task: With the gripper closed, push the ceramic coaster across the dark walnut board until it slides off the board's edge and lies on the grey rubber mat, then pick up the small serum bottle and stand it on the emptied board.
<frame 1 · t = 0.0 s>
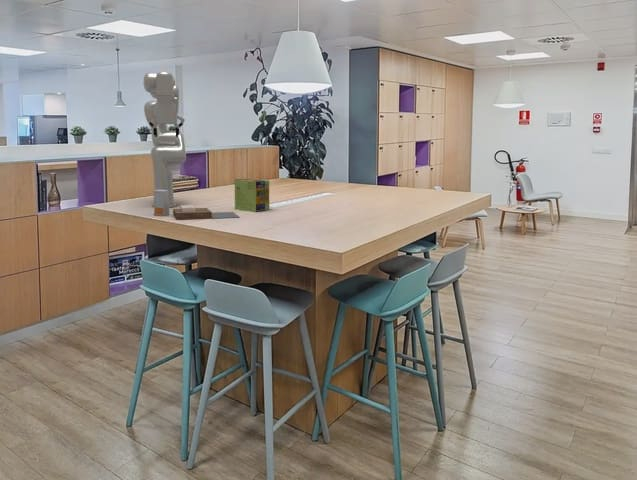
hand: (166, 136, 265), 37 cm above the table, tool pointing down, fingers open, 9 cm apart
protein box: (252, 210, 289), on the table
skincare box: (161, 215, 266), on the table
board: (192, 216, 262), on the table
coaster: (187, 210, 261), point 3 cm above the table, touching board
mat: (222, 215, 268), on the table
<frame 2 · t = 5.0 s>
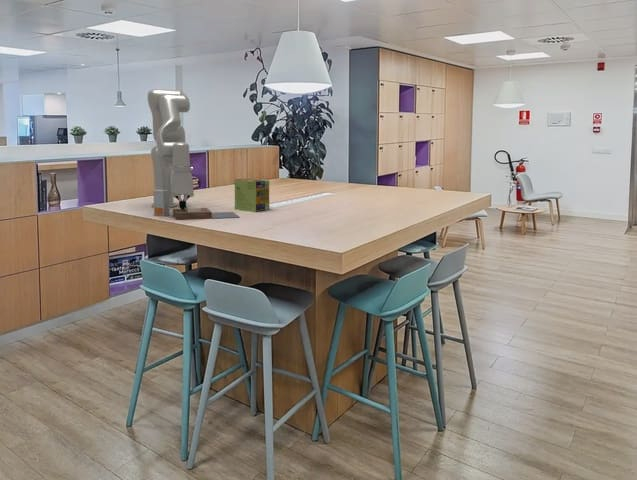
hand: (182, 209, 260), 4 cm above the table, tool pointing down, fingers closed
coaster: (192, 210, 262), point 3 cm above the table, touching board, gripper
everything else where it was.
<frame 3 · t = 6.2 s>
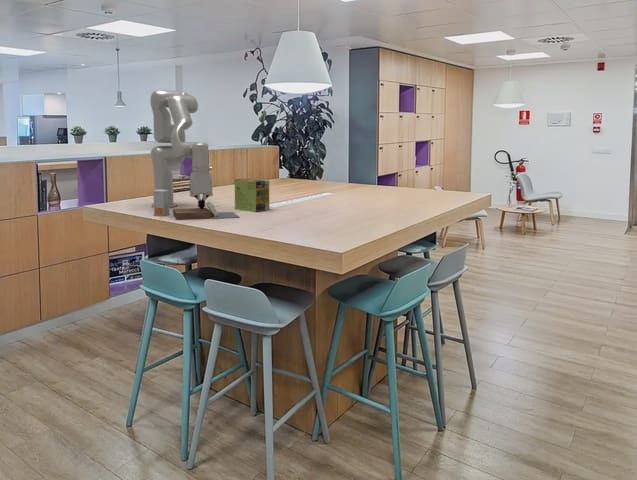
hand: (201, 208, 263), 4 cm above the table, tool pointing down, fingers closed
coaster: (210, 209, 265), point 3 cm above the table, tilted 62°, touching mat
everything else where it was.
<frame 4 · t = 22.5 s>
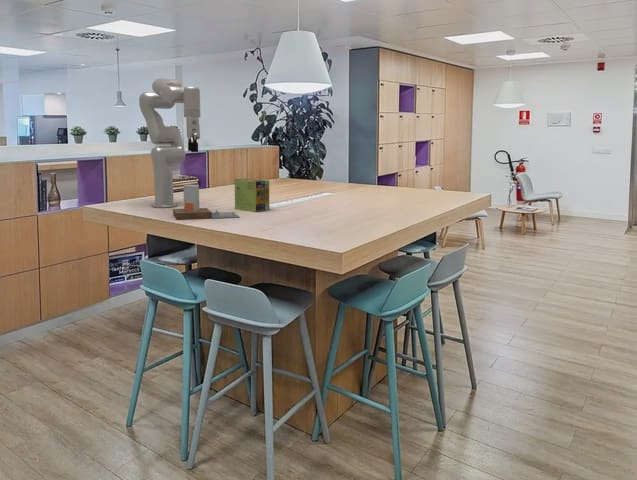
hand: (193, 151, 262), 30 cm above the table, tool pointing down, fingers open, 9 cm apart
skincare box: (191, 211, 262), point 3 cm above the table, touching board
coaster: (223, 210, 267), point 2 cm above the table, tilted 180°, touching mat
everything else where it was.
at the end: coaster inside the target area on the mat (0.5 cm from its centre), point 2.4 cm above the mat's base; skincare box inside the target area on the board (0.1 cm from its centre), point 2.8 cm above the board's base; skincare box tilted 0° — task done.
